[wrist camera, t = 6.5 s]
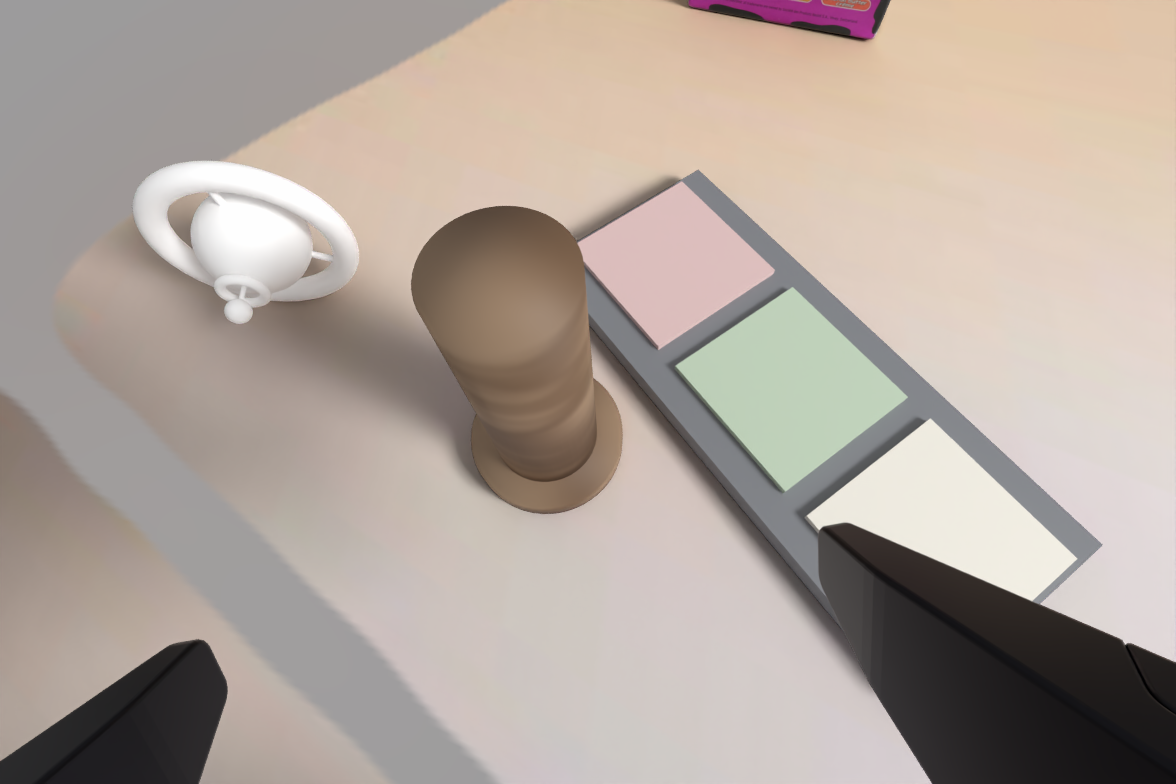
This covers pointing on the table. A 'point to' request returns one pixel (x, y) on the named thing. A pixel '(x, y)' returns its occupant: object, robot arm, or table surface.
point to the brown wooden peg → (521, 354)
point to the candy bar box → (808, 13)
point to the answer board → (808, 400)
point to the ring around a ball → (246, 234)
